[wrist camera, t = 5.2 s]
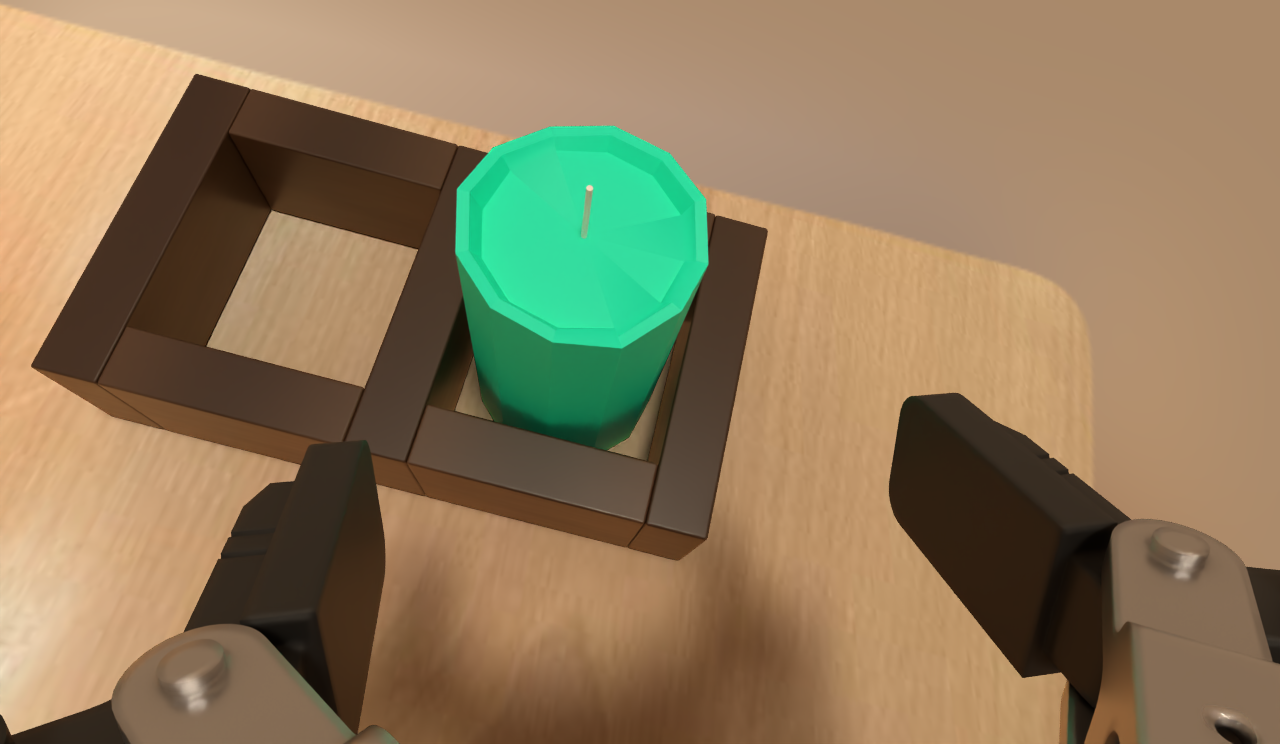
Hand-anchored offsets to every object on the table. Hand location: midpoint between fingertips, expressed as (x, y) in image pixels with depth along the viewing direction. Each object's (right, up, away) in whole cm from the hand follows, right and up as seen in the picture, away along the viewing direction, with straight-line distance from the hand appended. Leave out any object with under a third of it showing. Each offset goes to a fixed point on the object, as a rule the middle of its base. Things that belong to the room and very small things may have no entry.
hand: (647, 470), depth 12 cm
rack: (-7, +2, +16) cm, 18 cm away
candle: (-3, +1, +16) cm, 17 cm away
